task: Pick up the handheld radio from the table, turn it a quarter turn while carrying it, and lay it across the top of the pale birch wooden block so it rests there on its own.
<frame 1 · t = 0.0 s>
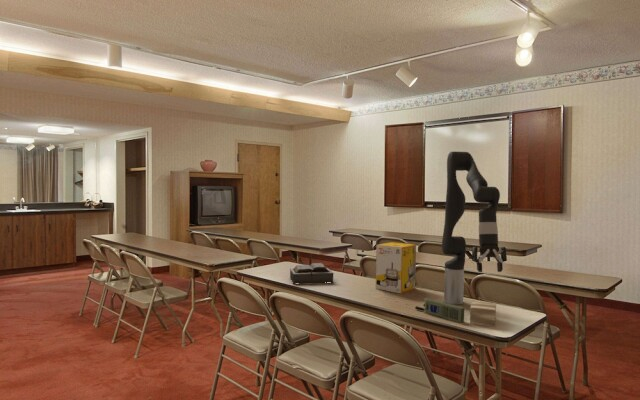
hand: (489, 271, 189), 22 cm above the table, tool pointing down, fingers open, 8 cm apart
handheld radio: (438, 316, 202), on the table
packaging box: (395, 289, 254), on the table
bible: (311, 281, 273), on the table
birch block: (483, 321, 194), on the table
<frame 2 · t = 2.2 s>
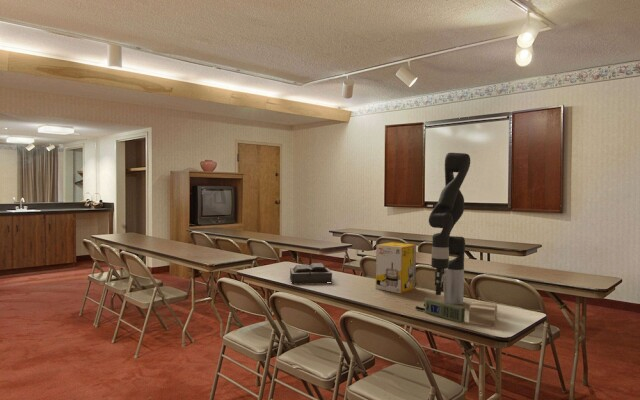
hand: (439, 293, 201), 10 cm above the table, tool pointing down, fingers open, 8 cm apart
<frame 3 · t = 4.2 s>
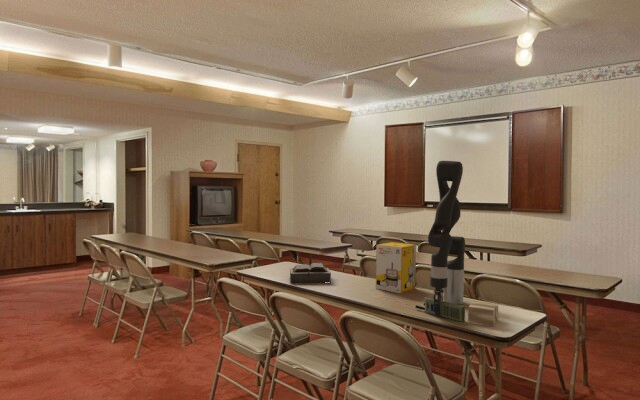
hand: (438, 314, 201), 1 cm above the table, tool pointing down, fingers closed on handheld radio, 3 cm apart
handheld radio: (438, 315, 202), on the table, touching gripper
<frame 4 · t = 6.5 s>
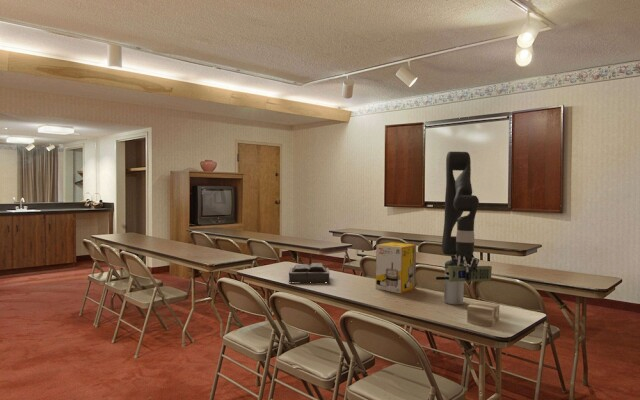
hand: (464, 279, 197), 17 cm above the table, tool pointing down, fingers closed on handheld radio, 3 cm apart
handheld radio: (463, 281, 198), point 16 cm above the table, touching gripper
when the fingers open (9 cm above the table, at t = 9.3 s): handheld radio drops 2 cm, resting on birch block.
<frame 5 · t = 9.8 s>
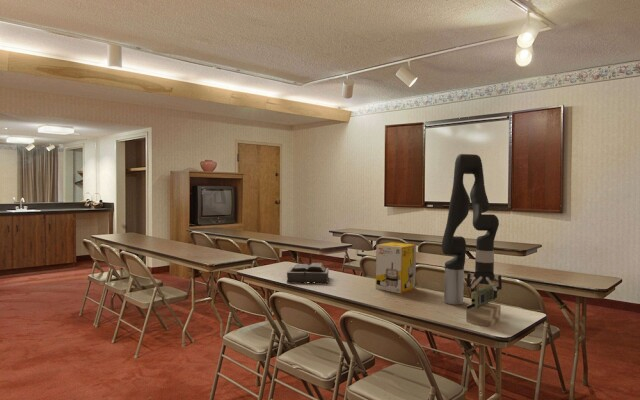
hand: (483, 297, 194), 10 cm above the table, tool pointing down, fingers open, 8 cm apart
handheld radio: (480, 305, 195), point 7 cm above the table, touching birch block
birch block: (483, 321, 194), on the table, touching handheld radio
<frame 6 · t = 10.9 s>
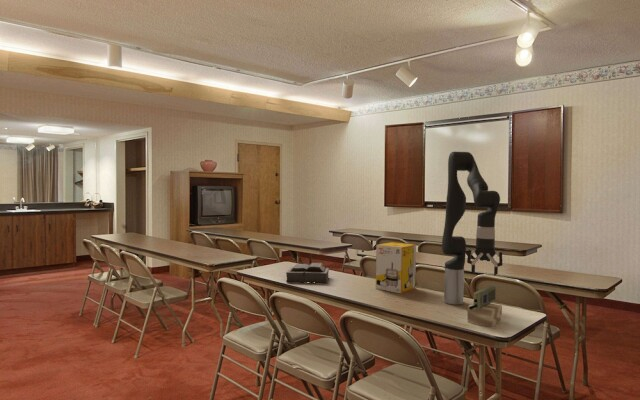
hand: (484, 274, 194), 20 cm above the table, tool pointing down, fingers open, 8 cm apart
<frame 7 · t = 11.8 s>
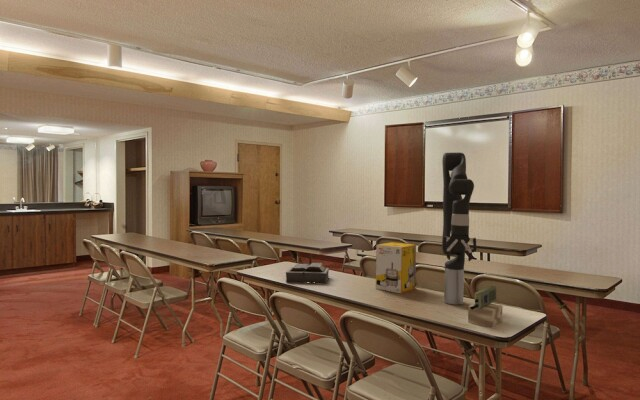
hand: (459, 260, 200), 25 cm above the table, tool pointing down, fingers open, 8 cm apart
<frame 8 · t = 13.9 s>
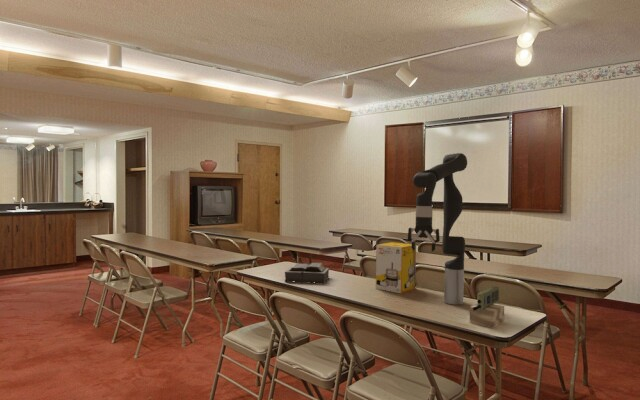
hand: (423, 250, 208), 28 cm above the table, tool pointing down, fingers open, 8 cm apart
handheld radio: (485, 306, 193), point 6 cm above the table, touching birch block
at the end: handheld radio inside the target area on the birch block (0.6 cm from its centre), point 6.8 cm above the birch block's base; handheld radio touching birch block; the gripper is holding nothing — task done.
